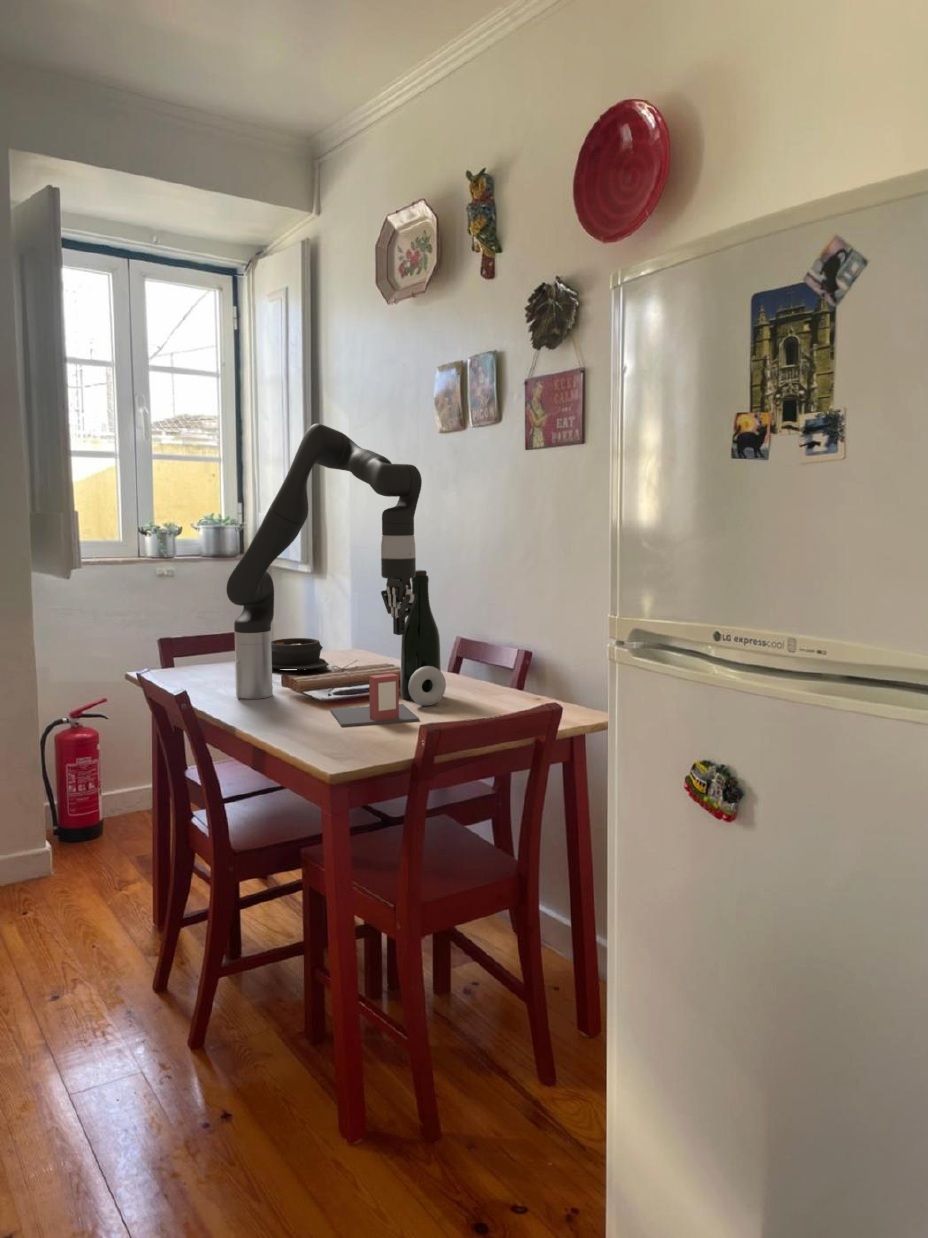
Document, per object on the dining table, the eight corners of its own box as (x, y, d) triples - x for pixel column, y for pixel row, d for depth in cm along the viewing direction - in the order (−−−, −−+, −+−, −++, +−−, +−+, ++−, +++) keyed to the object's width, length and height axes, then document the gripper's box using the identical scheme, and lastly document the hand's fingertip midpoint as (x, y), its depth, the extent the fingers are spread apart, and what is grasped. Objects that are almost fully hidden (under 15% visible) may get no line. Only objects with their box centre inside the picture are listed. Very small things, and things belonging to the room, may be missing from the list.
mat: (341, 726, 201) (341, 724, 201) (330, 711, 216) (330, 709, 216) (419, 721, 207) (419, 718, 206) (402, 706, 222) (402, 704, 222)
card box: (375, 721, 204) (375, 678, 203) (369, 718, 206) (369, 676, 205) (399, 718, 207) (398, 675, 206) (392, 715, 210) (392, 673, 208)
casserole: (247, 666, 278) (247, 640, 277) (300, 659, 290) (299, 634, 289) (290, 678, 259) (289, 649, 258) (343, 670, 272) (343, 642, 271)
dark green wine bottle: (397, 694, 236) (395, 569, 232) (435, 692, 239) (434, 568, 235) (405, 702, 226) (404, 572, 222) (445, 700, 229) (445, 571, 225)
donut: (442, 702, 226) (442, 663, 225) (448, 705, 223) (448, 665, 222) (406, 706, 222) (405, 666, 221) (411, 709, 219) (411, 668, 217)
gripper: (428, 557, 193) (429, 636, 195) (399, 554, 204) (400, 629, 206) (397, 558, 189) (398, 639, 191) (369, 555, 200) (370, 632, 202)
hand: (399, 634), depth 199 cm, fingers closed
